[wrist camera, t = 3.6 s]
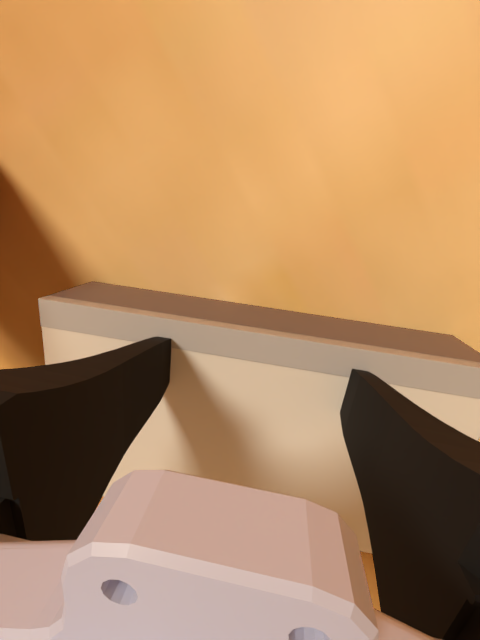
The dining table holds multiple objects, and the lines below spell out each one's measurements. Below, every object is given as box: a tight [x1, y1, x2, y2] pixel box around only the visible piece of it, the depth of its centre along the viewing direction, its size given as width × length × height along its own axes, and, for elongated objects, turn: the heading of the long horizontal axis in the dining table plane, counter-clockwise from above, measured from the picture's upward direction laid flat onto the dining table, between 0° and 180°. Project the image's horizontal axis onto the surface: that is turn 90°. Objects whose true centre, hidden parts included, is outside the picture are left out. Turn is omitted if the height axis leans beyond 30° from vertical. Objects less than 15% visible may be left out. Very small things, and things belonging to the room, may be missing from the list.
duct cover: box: [38, 295, 480, 554], centre depth 13 cm, size 10×18×1 cm, turn 83°
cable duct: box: [51, 282, 480, 362], centre depth 15 cm, size 10×18×3 cm, turn 83°
